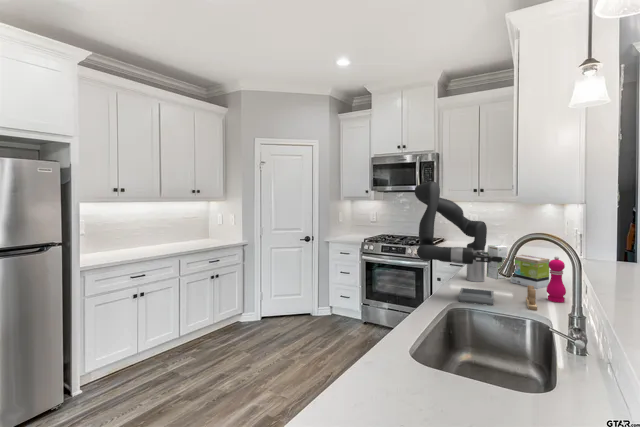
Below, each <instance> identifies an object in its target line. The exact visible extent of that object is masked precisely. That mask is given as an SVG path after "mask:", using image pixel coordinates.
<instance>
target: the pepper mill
mask: <svg viewBox="0 0 640 427" xmlns="http://www.w3.org/2000/svg"><path fill="white" fill-rule="evenodd" d="M553 258H554V259H552V260H549V274H550V278H549V284H548V286H547V287H546V293H547V294H548V295H547V300H548V301H549V302H552V303H565V297H564V296H566V294H567V290H566V287H565V284H564V283H563V282H564V281H563V275H564V271H563V270H564V269H565V267H566V266H565V265H566V264H565V262H564V261H562V260H561V259H560V257H559V256H558V255H555V256H554V257H553Z"/></svg>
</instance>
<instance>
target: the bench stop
mask: <svg viewBox="0 0 640 427" xmlns="http://www.w3.org/2000/svg"><path fill="white" fill-rule="evenodd" d="M526 287H527V288H526V289H527V290H526V292H527V295H526V297H525V302H526V305H527V309H528V310H529V309H530V310H529V311H538V306H537V302H536V293H537V290H536V289H535V288H534V286H531V285H528V286H526Z"/></svg>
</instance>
